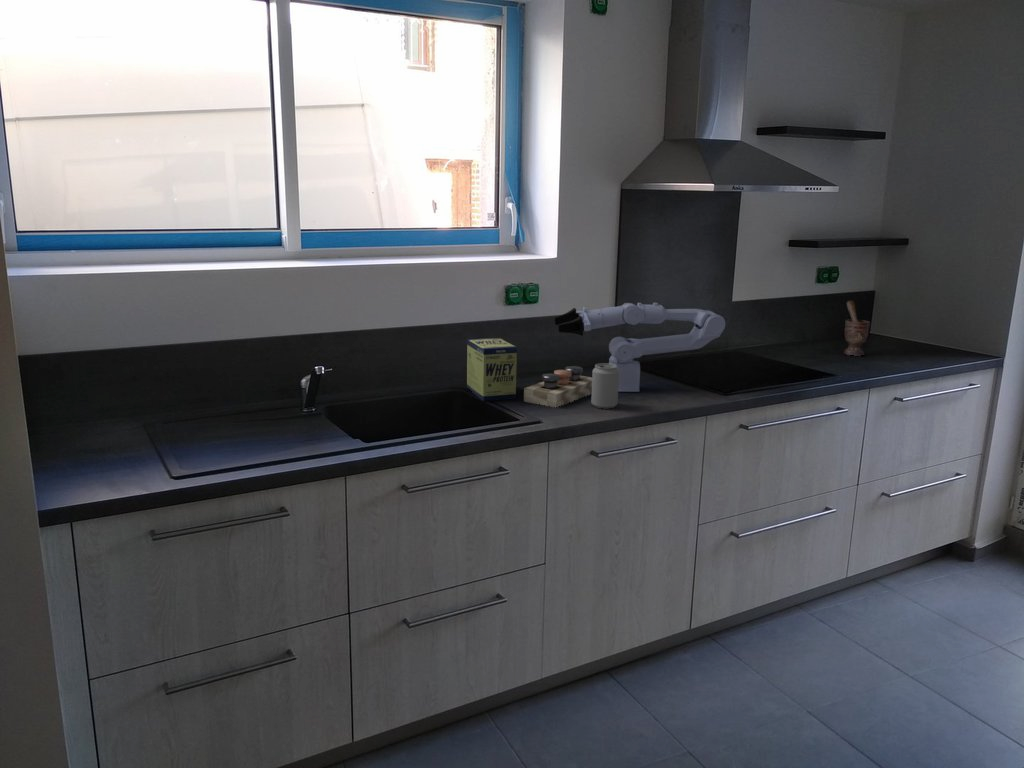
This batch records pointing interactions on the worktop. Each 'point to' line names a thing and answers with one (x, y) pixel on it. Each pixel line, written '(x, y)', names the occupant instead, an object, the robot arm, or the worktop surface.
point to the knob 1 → (551, 381)
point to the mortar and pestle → (855, 332)
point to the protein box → (491, 368)
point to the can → (605, 386)
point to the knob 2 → (574, 373)
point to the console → (558, 393)
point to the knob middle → (563, 376)
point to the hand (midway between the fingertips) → (556, 324)
